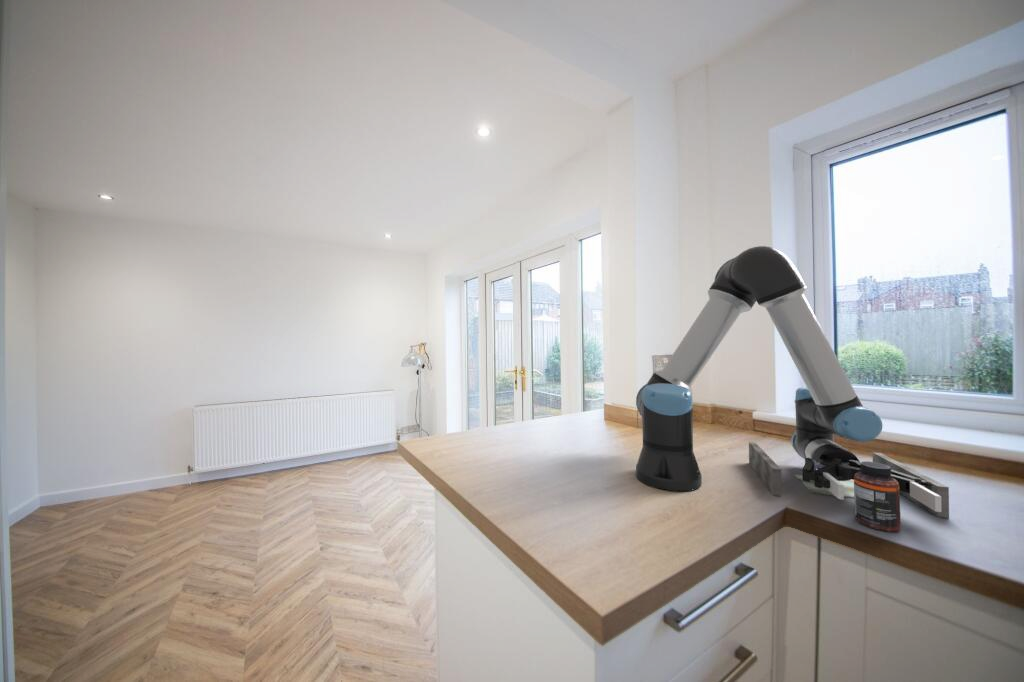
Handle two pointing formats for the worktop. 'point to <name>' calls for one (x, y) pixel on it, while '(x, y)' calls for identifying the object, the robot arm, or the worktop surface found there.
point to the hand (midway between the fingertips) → (887, 497)
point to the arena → (772, 480)
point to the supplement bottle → (877, 497)
